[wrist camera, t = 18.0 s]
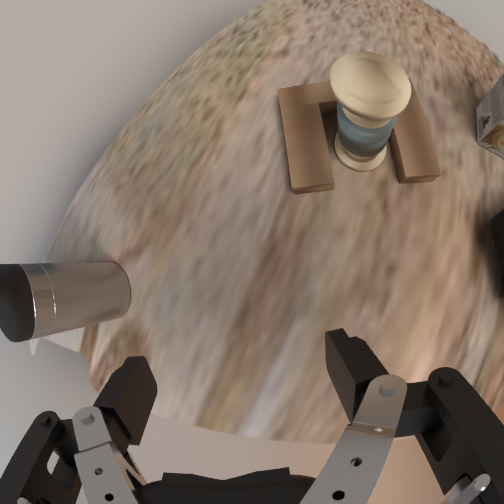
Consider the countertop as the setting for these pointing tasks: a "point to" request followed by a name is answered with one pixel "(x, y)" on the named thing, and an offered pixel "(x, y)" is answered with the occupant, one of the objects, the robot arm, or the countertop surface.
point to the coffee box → (492, 119)
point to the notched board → (315, 145)
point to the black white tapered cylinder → (499, 236)
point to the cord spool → (366, 106)
